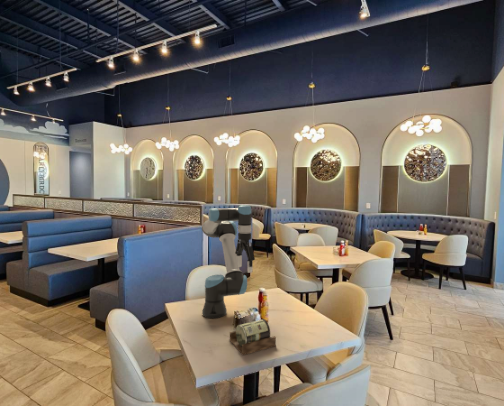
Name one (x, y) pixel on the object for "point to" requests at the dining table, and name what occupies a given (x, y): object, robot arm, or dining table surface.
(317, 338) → the dining table surface
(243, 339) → the coffee can
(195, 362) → the dining table surface
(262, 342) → the cradle
